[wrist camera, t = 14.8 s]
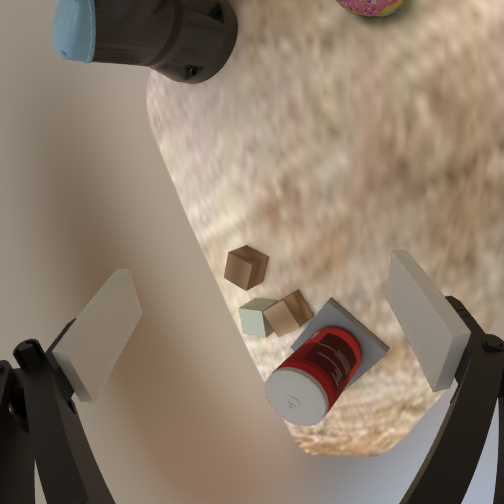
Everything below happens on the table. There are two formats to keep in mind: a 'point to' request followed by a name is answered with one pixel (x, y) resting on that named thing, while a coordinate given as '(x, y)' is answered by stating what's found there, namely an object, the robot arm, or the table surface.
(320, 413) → the canned food
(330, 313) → the plate
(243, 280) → the walnut block
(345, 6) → the cupcake
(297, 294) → the teak block
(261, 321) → the sage painted block
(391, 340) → the table surface
